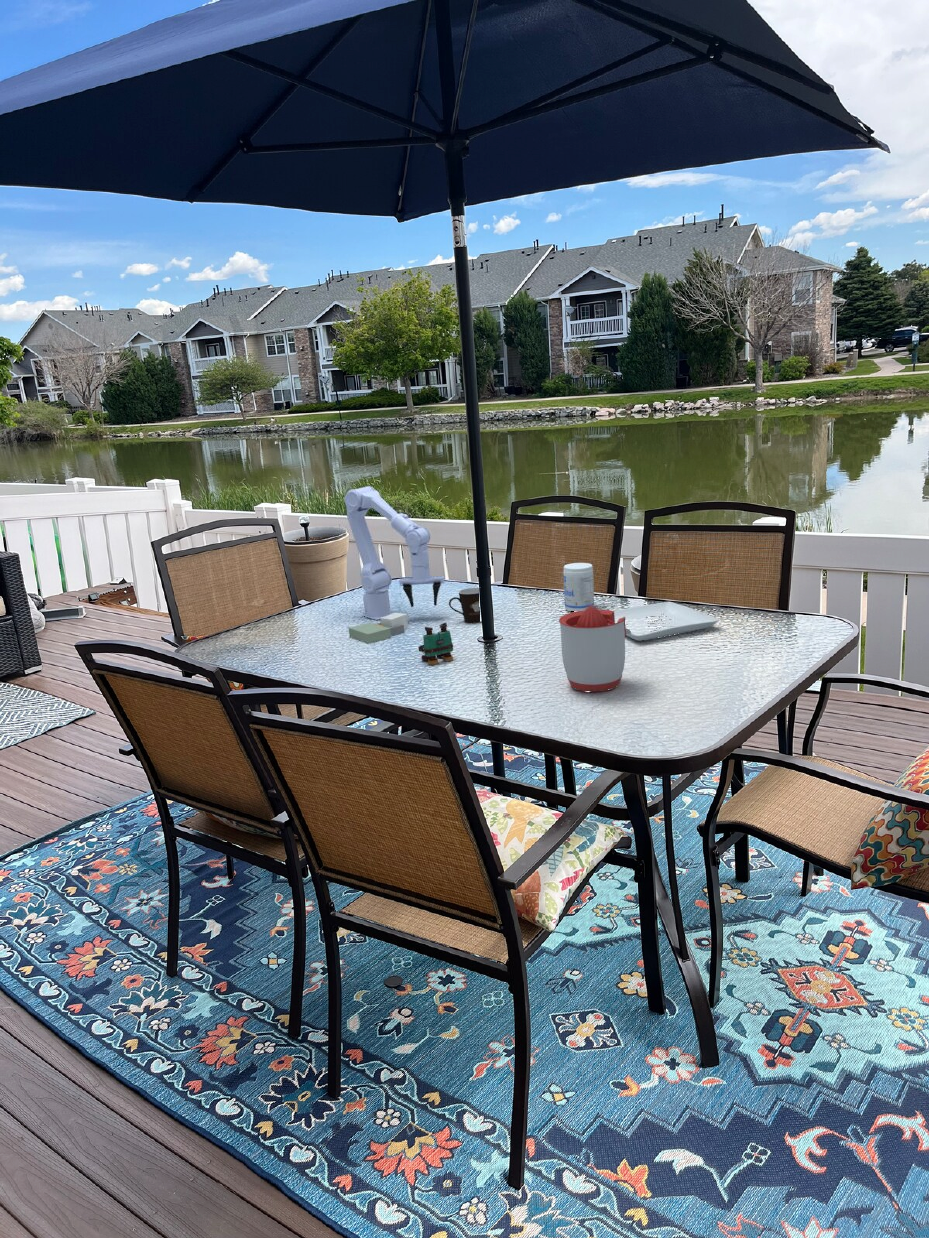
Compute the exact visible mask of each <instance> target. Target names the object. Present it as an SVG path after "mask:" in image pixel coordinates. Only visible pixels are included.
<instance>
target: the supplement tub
mask: <svg viewBox="0 0 929 1238" xmlns="http://www.w3.org/2000/svg"><path fill="white" fill-rule="evenodd" d="M562 574H563V595H564V609H565V610H566V611H567V610H568V612H570V611H584V610H586V609H587V608H588V607H589V606H594V607H595V593H594V587H595V586H594V585H595V584H594V568H593V564H591V563H588V562H573V563H568V564H565V565H564V566H563V573H562Z"/></svg>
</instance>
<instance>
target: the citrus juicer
mask: <svg viewBox="0 0 929 1238" xmlns="http://www.w3.org/2000/svg"><path fill="white" fill-rule="evenodd" d="M614 611H615V610H609V609H597V608H596V607H595V605H594V606H589V607H588V608H587V609H586V610H584V611H577V612H569V613H566V614H563V615H562V616H560V617H559V619H558V622H559V625H560V628H559V629H560V642H561V644H560V645H561V657H562V662H563V663H562V664H563V667H564V671H565V674H566V678H567V680H568V682H569V685H570V686H571V687H572V688H573V689H574V688H576V689H575V690H577V689H578V690H577V691H580V690H583V691H582V692H584V691H600V692H605V691H604V690H606V691H609V690H608V689H610V690H612V689H611V688H613V689H615V687H616V686H617V687H618V686H619V685H620V683H621V680H622V677H623V673H624V672H623V671H624V669H625V668H624V667H625V661H626V640H625V638H627V635H626V634H631V631H630V630H629V629H627V628H626V625H625V617H623V618H620V619H618V622H617V623H615V616H614ZM618 684H619V685H618ZM617 687H616V688H617Z"/></svg>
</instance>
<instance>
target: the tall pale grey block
mask: <svg viewBox="0 0 929 1238" xmlns="http://www.w3.org/2000/svg"><path fill="white" fill-rule="evenodd" d="M392 613H393V614H390V615H387V616H385V617H382V618H380V619H379V620H380V623H381V625H382V626H384V627H387V628H390V627H394V626H397V625H401V624H403V625H404V631H406V630H408V629H409V622H408V621H409V620H408V614H407V613H401V612H392Z"/></svg>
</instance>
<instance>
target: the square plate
mask: <svg viewBox="0 0 929 1238" xmlns="http://www.w3.org/2000/svg"><path fill="white" fill-rule="evenodd" d="M613 611H614V616H615V622H618V619H620V618H623V617H625V620H626V619H641V618H642V619H643V617H645V616H667V617H660V618H659V617H658V618H648V619H672V620H667V621H663V622H662V621H657V622H656V621H655V622H654V621H653V622H652V621H649V622H645V621H644V622H637V623H670V624H668V625H667V624H666V625H663V624H662V625H661V624H660V625H658V626H674V627H667V628H664V627H663V628H660V629H659V628H657V629H656V628H655V629H654V628H653V629H652V628H649V629H645V628H644V629H629V630H660V631H656V632H653V631H652V632H649V631H648V632H647V631H646V632H642V631H641V632H631V634H626V637H629V638H631V639H632V640H635V641H638V642H642V640H644V641H650V640H649V639H651V640H655V639H654V638H657V639H659V638H658V637H662V638H665V637H664V636H667V637H670V636H669V635H672V636H675V635H674V634H678V633H683V634H686V633H685V632H688V633H691V632H690V631H693V632H696V631H695V630H697V631H700V630H705V629H707V628H710V627H713V626H714V625H715V624H717V622H719V621H720V619H719V618H717V617H714V616H712V615H709V614H707V613H706V612H705V613H704V612H702V611H699V610H697V609H695V608H691V607H688V606H685V605H682V604H680V603H675V602H672V601H664V602H658V603H652V604H644V605H638V606H633V607H628V608H623V609H622V608H621V609H619V610H618V609H617V610H613ZM663 613H665V614H664V615H663ZM661 614H662V615H661ZM644 619H647V618H644ZM673 619H675V620H673ZM632 623H633V622H632ZM635 623H636V622H635ZM673 623H675V624H673ZM634 626H635V625H634ZM641 626H642V625H641ZM643 626H644V625H643ZM646 626H651V625H646ZM652 626H657V625H652ZM675 626H676V627H675ZM633 633H648V634H642V635H641V634H640V635H639V634H638V635H637V634H633ZM678 635H679V634H678Z"/></svg>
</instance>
